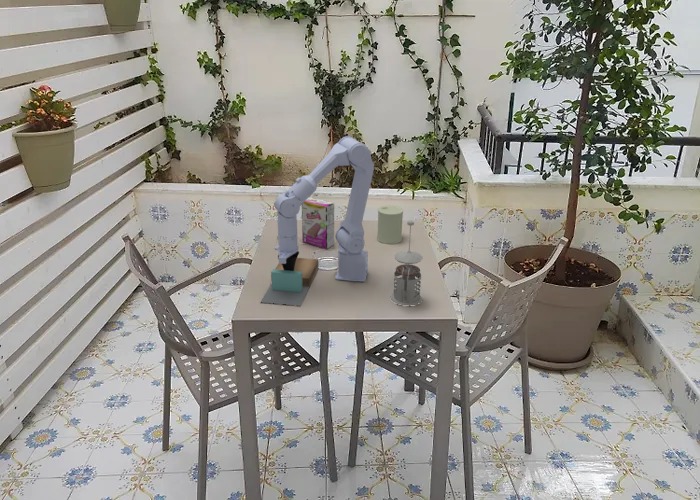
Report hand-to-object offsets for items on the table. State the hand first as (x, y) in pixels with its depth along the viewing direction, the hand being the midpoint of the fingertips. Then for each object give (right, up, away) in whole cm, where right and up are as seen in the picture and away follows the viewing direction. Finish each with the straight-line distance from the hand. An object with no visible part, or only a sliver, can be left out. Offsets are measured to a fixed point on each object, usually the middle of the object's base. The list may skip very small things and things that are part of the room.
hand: (289, 275), depth 174 cm
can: (+33, +12, +37) cm, 51 cm away
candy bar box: (+7, +10, +32) cm, 34 cm away
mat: (-1, -6, -3) cm, 7 cm away
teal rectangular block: (0, -1, -1) cm, 2 cm away
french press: (+35, -7, -5) cm, 36 cm away
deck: (+1, -1, +9) cm, 9 cm away
